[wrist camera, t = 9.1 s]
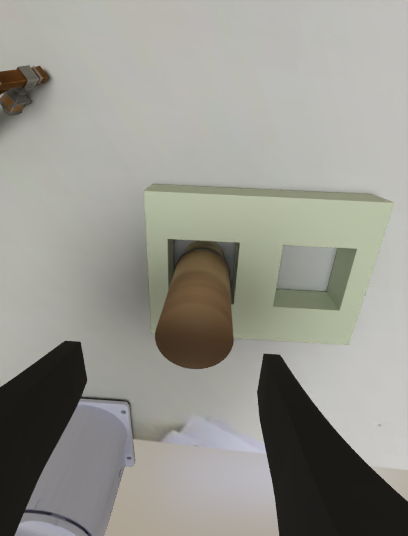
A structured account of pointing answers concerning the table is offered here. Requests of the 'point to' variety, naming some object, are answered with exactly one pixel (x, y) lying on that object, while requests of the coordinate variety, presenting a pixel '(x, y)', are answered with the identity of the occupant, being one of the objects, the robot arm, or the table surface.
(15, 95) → the wooden post with brackets
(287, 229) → the board
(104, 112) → the table surface
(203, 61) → the table surface
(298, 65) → the table surface
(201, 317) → the peg
